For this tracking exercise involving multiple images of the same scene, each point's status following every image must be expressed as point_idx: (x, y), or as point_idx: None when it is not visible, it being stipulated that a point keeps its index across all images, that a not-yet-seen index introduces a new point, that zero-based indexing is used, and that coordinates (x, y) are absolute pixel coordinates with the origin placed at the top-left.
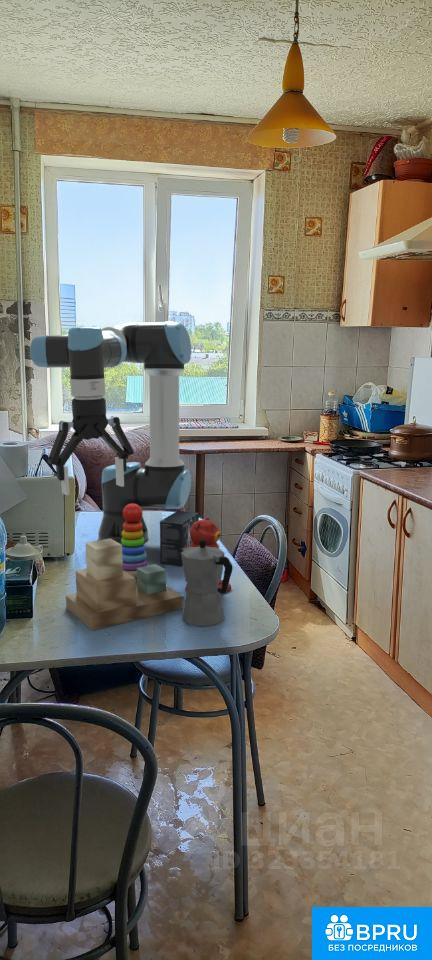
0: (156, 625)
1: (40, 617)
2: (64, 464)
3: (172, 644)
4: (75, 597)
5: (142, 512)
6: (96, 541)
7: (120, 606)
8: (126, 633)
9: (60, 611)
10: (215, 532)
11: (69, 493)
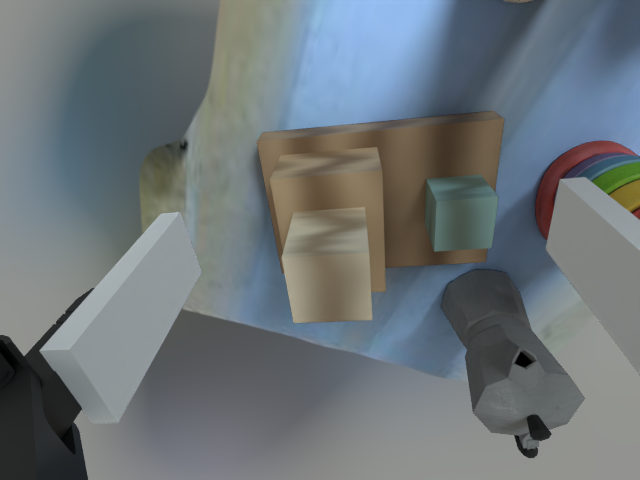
0: (392, 286)
1: (202, 157)
2: (78, 439)
3: (380, 346)
4: (275, 165)
5: None
6: (316, 261)
7: None
8: None
9: (246, 145)
10: None
11: (198, 276)
